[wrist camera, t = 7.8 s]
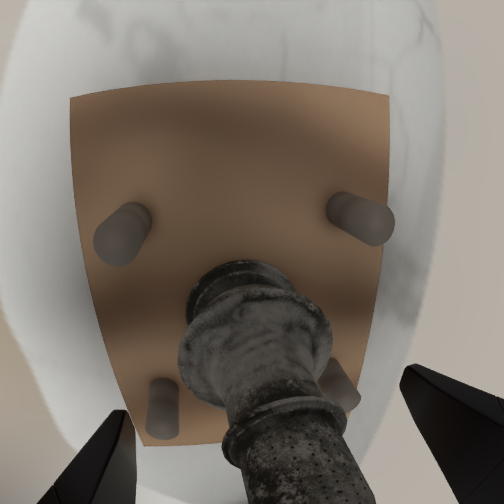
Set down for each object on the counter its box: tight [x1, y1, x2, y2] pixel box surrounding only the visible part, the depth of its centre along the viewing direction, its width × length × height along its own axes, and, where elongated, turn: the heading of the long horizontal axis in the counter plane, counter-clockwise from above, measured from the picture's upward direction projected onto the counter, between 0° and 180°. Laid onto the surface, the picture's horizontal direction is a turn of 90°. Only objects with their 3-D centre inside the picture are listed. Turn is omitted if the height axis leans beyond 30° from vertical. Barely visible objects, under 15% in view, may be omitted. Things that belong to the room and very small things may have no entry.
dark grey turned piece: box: [177, 259, 376, 504], centre depth 9 cm, size 6×6×12 cm
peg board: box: [70, 80, 395, 446], centre depth 13 cm, size 20×14×4 cm
